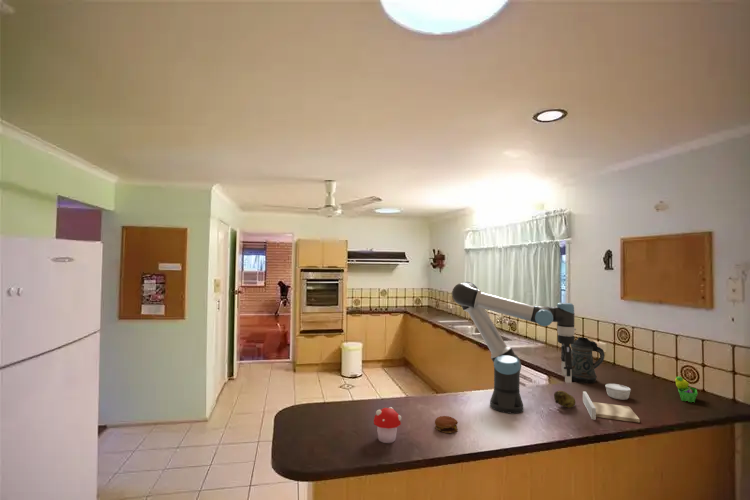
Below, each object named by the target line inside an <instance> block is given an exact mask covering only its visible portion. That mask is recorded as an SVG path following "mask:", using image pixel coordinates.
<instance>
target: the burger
mask: <svg viewBox="0 0 750 500" xmlns="http://www.w3.org/2000/svg"><path fill="white" fill-rule="evenodd" d="M458 423H459V421H458V420H457V419H456V418H454V417H453V416H449V415H442V416H438V417H437V418H435V420H434V425H435V427H434V428H435V430H437V431H438V432H442V433H444V434H454V433H456V432H458V426H457V425H458Z"/></svg>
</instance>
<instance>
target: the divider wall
mask: <svg viewBox="0 0 750 500" xmlns="http://www.w3.org/2000/svg"><path fill="white" fill-rule="evenodd" d="M592 402H593V401H592V399H591V398H590V396H589V394H588V393H587V391H582V403H583V405H584V406H585V408H586V410H587V412H588V414H589V416H590V418H591V420H593V421H594V420H595V421H596V419H597V417H596V408H595V406H594V405H593V403H592Z"/></svg>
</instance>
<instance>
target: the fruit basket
mask: <svg viewBox="0 0 750 500" xmlns="http://www.w3.org/2000/svg"><path fill="white" fill-rule="evenodd" d="M674 380H675V386H676V388H677V390H678V393H679V397H680V400H681V402H682V401H683V402H686V401H688V403H692V402H694V403H695V402H696V398H697V396H698V390H697V388H695V387H690V386H689V385H690V383H689V381H687V380H685V379H684V378H683V377H682V376H676V378H675V379H674Z"/></svg>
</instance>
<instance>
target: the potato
mask: <svg viewBox="0 0 750 500" xmlns="http://www.w3.org/2000/svg"><path fill="white" fill-rule="evenodd" d="M553 397H554V401H555V404H558V405H559V406H561V407H562V406H563V407H565V408H567V409H569V408H574V407H575V405H576V399H575V397H574V396H573V395H571V394H570V393H568V392H566V391H564V390H557V391H555V392H554V394H553Z"/></svg>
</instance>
